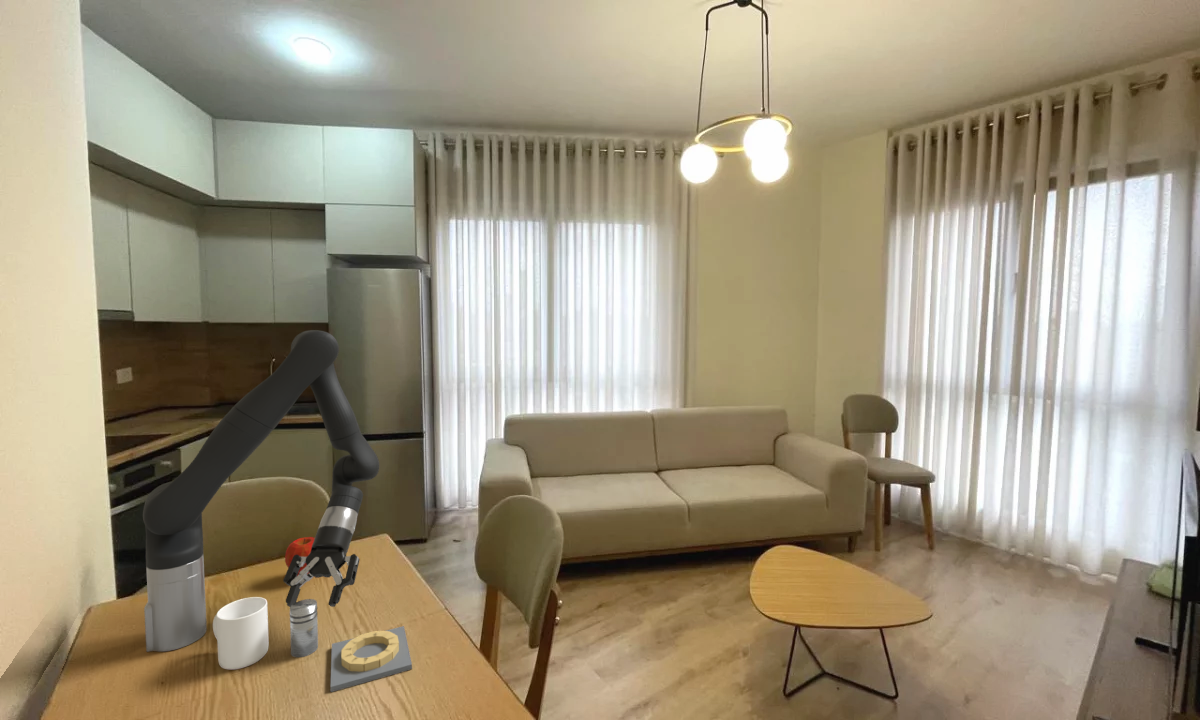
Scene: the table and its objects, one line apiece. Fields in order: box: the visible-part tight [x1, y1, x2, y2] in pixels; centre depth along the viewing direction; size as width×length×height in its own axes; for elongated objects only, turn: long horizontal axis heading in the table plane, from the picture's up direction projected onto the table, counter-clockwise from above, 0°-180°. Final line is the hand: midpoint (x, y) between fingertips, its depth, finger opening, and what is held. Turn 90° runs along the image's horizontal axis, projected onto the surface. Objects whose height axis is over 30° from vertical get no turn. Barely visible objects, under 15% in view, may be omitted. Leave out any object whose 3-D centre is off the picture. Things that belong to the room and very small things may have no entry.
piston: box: [289, 598, 319, 658], centre depth 103 cm, size 5×5×10 cm
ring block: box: [330, 625, 413, 693], centre depth 101 cm, size 14×14×2 cm
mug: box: [212, 596, 269, 671], centre depth 101 cm, size 12×8×10 cm
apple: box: [284, 536, 315, 576], centre depth 132 cm, size 9×8×11 cm
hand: (311, 606), depth 106 cm, fingers open, 8 cm apart
